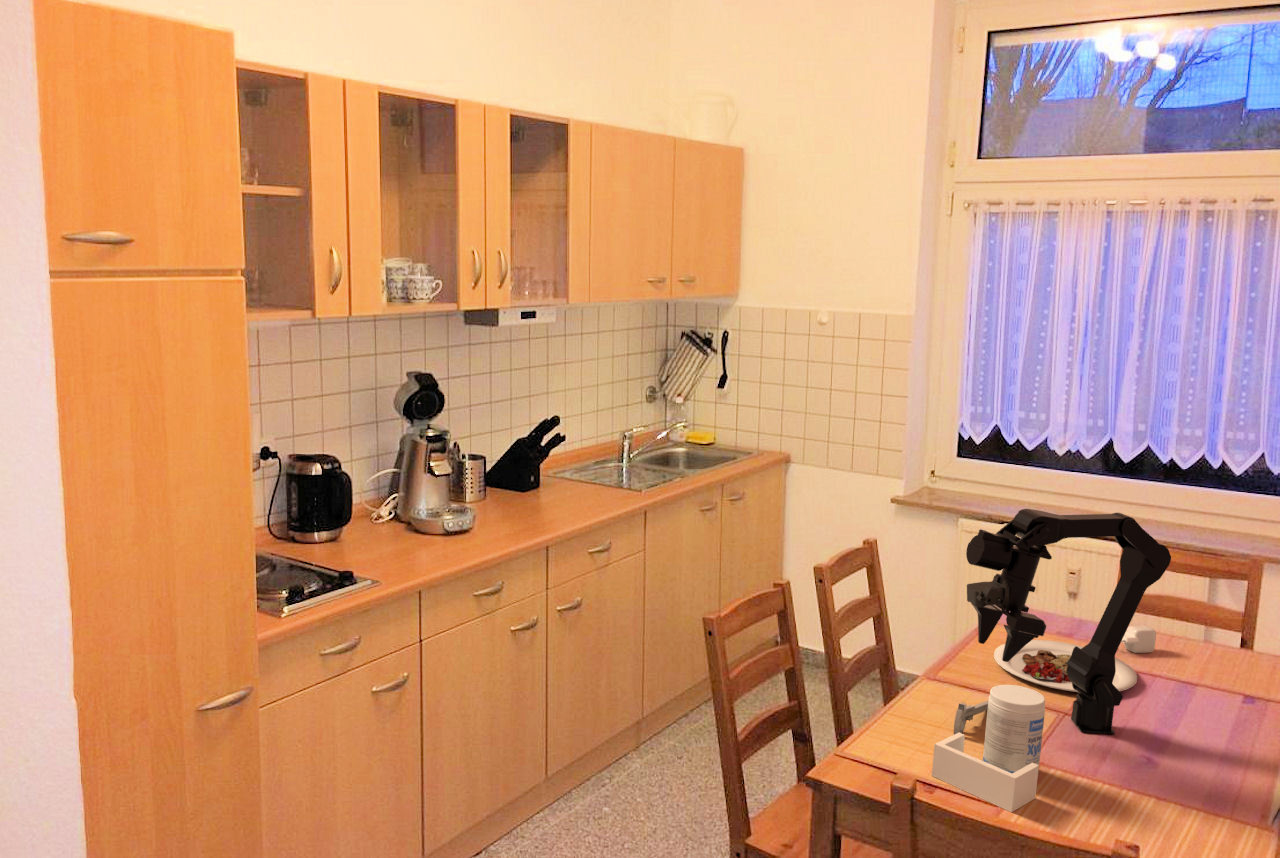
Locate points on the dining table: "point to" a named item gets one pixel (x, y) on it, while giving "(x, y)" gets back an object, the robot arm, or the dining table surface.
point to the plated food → (1055, 665)
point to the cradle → (983, 775)
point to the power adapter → (1139, 639)
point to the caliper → (967, 714)
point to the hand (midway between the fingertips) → (992, 652)
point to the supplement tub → (1014, 727)
